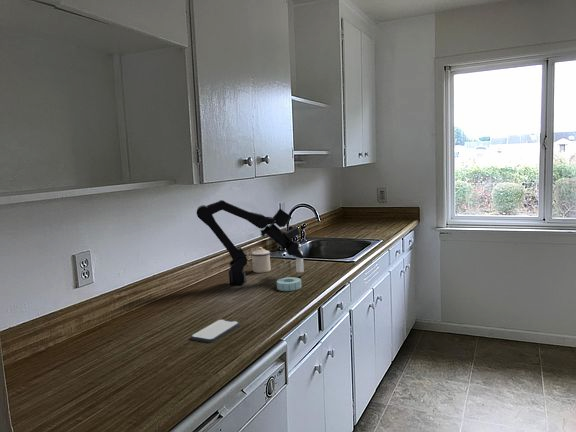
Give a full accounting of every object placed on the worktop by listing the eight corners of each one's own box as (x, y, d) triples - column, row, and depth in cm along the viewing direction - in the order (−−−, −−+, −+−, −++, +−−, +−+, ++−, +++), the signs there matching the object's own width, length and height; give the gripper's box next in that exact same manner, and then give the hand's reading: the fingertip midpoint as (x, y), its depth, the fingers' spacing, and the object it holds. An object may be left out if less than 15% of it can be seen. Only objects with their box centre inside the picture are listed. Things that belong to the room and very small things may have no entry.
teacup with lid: (273, 268, 235) (272, 245, 234) (267, 273, 227) (266, 249, 225) (250, 268, 239) (249, 245, 237) (244, 272, 230) (242, 249, 228)
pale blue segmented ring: (274, 290, 196) (274, 283, 195) (280, 284, 205) (280, 277, 205) (298, 291, 193) (297, 283, 193) (303, 284, 203) (302, 277, 203)
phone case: (211, 345, 144) (241, 326, 158) (211, 340, 144) (241, 321, 158) (189, 341, 148) (219, 323, 162) (188, 336, 148) (219, 318, 162)
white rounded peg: (296, 272, 215) (294, 245, 213) (297, 270, 218) (295, 243, 217) (302, 272, 214) (301, 245, 213) (304, 270, 217) (302, 243, 216)
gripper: (293, 224, 203) (319, 247, 207) (284, 219, 222) (308, 240, 225) (276, 243, 203) (302, 266, 206) (269, 237, 221) (293, 258, 225)
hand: (302, 257), depth 216 cm, fingers closed on white rounded peg, 3 cm apart
